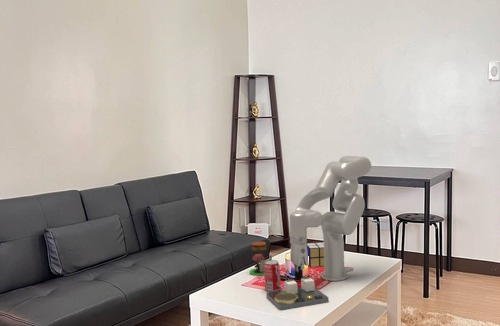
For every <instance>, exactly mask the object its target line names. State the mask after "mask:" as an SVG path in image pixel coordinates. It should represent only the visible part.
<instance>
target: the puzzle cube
mask: <svg viewBox="0 0 500 326" xmlns="http://www.w3.org/2000/svg"><path fill="white" fill-rule="evenodd" d="M306 245H307V251H308V256H309V265H310V266H309V265H308V266H309V267H310V268H318V267H317V266H319V267H320V266H321V267H324V241H323V242H311V243H306Z"/></svg>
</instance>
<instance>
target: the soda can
mask: <svg viewBox="0 0 500 326" xmlns="http://www.w3.org/2000/svg"><path fill="white" fill-rule="evenodd" d="M280 268H281V267H280V264H279V261H278V260H276V259H272V260H268V261H265V264H264V275H263V276H264V288H265V291H266V292H267V293H270V292H277V291H281V288H282V286H281V270H280Z"/></svg>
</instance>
